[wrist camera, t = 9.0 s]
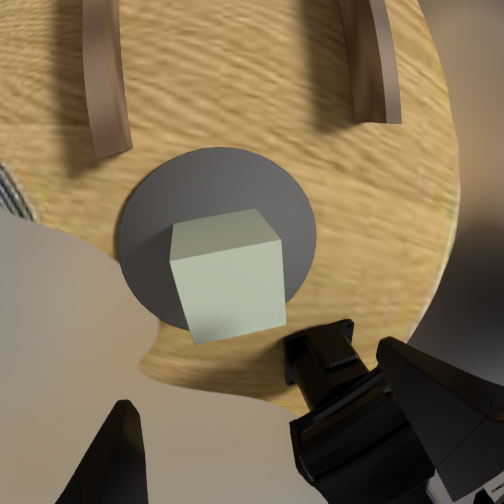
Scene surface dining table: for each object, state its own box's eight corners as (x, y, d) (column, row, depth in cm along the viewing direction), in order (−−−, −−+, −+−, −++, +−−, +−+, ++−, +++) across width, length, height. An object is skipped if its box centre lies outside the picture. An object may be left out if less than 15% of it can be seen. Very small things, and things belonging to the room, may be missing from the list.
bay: (368, 121, 17) (401, 124, 14) (113, 152, 14) (95, 159, 11) (338, -49, 10) (361, -68, 7) (103, -42, 8) (91, -66, 5)
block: (263, 279, 19) (286, 324, 15) (190, 293, 19) (194, 344, 14) (255, 208, 17) (280, 239, 13) (173, 223, 16) (169, 261, 12)
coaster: (313, 307, 22) (316, 310, 22) (152, 341, 20) (151, 345, 20) (308, 136, 16) (311, 136, 16) (97, 172, 14) (94, 174, 14)
